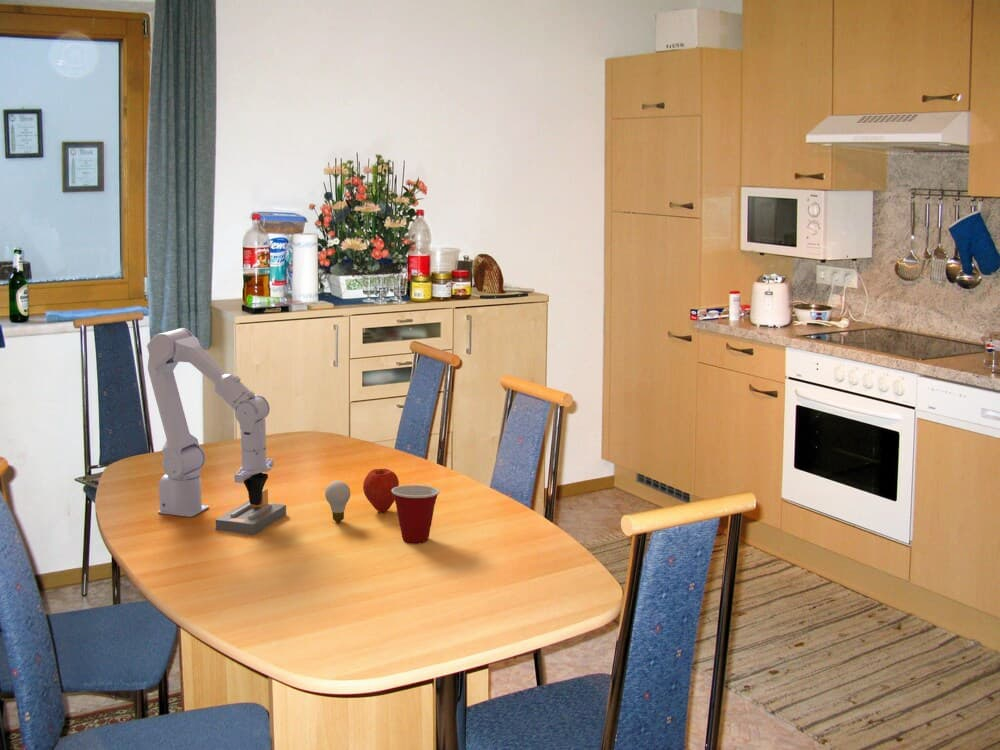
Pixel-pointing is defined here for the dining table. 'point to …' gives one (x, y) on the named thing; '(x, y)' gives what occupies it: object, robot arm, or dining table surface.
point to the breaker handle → (263, 498)
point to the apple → (380, 488)
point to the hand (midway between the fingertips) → (255, 504)
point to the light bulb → (337, 498)
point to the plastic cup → (415, 511)
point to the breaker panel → (250, 518)
